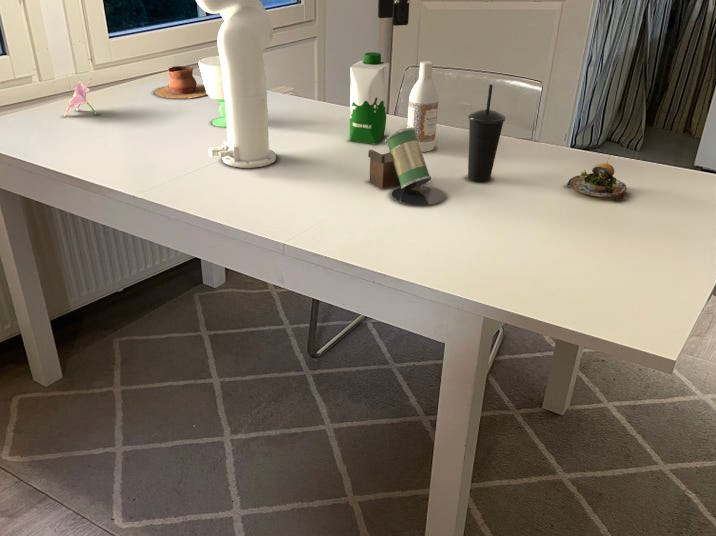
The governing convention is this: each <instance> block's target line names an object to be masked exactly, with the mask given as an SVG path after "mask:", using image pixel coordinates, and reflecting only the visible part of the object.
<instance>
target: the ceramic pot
mask: <svg viewBox="0 0 716 536" xmlns="http://www.w3.org/2000/svg"><path fill="white" fill-rule="evenodd" d="M167 72H168V75H169V77H170V78H169V81H168V85H167V86H163V87H160V88H157V89H156V90H155V91H154V94H155V95H156V96H158V97H160V98H165V99H186V100H187V99H188V100H189V99H192V98H193V99H194V98H198V97H204V96H206V95H208V94H207V92H206V88H205V85H204V84H197V80H196V78H195V77H194V75H193V74H194V73H193V72H194V68H193V67H192V66H185V65H177V66H171V67H169V68H167Z"/></svg>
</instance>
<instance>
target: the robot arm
mask: <svg viewBox="0 0 716 536" xmlns="http://www.w3.org/2000/svg"><path fill="white" fill-rule="evenodd" d="M195 2H196V3H197V5H198V7H200V9H202V11H204V12H205V13H208V14H211V15H217V14H218V15H220V16H221V18H222V19H223V22H222V23H221V25H220V27H219V30H218V34H217V48H218V49H217V50H218V54H219V55H218V56H220V60H221V66H222V73H223V83H224V94H225V107H226V121H227V127H226V133H227V134H226V135H227V140H223V144H221V146H218V147H217V146H216V147H209V148H208V154H209V157H210V158H213V157H217V156H218V157H219V158H220V159H222V161H223V163H224V164H226V165H228V166H230V167H234V168H243V169H251V168H253V169H254V168H260V167H265V166H268V165H271V164H273V163H274V162H275V161H276V160H277V154H276V152H275V151H274V150H272V149H270V139H269V138H270V137H269V115H268V112H269V111H268V91H267V75H266V67H265V61H264V51H265V50H266V49H267V48H268V47H269V46H270V43H271V42H272V40H273V36H274V25H273V21H272V19H271V17H270V15H269V13H268V11H267V9H266V8H265V7H264V4H263V3H262V1H261V0H195ZM410 3H411V0H377V18H378V19H391V18H392V23H391V24H392V25H393V26H396V27H397V26H398V27H399V26H408V25H409V21H410V20H409V19H410Z"/></svg>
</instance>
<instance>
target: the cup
mask: <svg viewBox="0 0 716 536" xmlns="http://www.w3.org/2000/svg"><path fill="white" fill-rule="evenodd" d="M198 66H199V70H200V74H201V77H202V81H203V85H205V88H206V92H207V94H206V95H208V96H209V97H210V98H211V99H212V100H214V101H217V102H220V103H221V104H220V106H219V113H220V115H221V116H222V117H218V118H215V119H213V120H212V124H213V126H216V127H221V128H227V121H226V107H225V94H224V83H223V73H222V66H221V60H220V55H213V56H209V57H204V58H201V59H199V61H198Z"/></svg>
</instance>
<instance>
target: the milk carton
mask: <svg viewBox="0 0 716 536" xmlns="http://www.w3.org/2000/svg"><path fill="white" fill-rule="evenodd" d="M363 57H364V59H363V60H359V61H357V62H355V63H353V64H352V65H351V66H350V68H349V71H350V92H349V93H350V94H349V96H350V97H349V101H350V103H349V142H354V143H355V142H356V143H362V144H372V145H377V144H378V143H379V142H380V141H381V140H382V139H383V138H384V137H385V134H386V126H387V113H388V95H389V76H390V75H389V74H390V62H385V61H382V53H380V52H373V51H372V52H365V53H364V56H363Z"/></svg>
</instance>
